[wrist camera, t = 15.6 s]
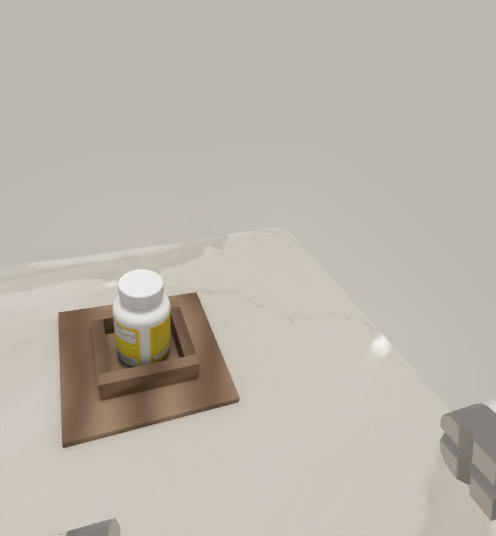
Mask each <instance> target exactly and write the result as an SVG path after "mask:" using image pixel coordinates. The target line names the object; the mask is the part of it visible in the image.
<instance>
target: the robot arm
mask: <svg viewBox="0 0 496 536" xmlns="http://www.w3.org/2000/svg"><path fill="white" fill-rule="evenodd" d="M440 427H441V428H442V429H443V430H444V431H445V433H444V435H443V436H442V438H441V439H440V450H441V453H442V456H443V459H444V461H445V463H446V465H447V466H448V468H449V470H450V471H451V472H452V474H453V475H454V476H455V477H456V479H458V480H460V481H462V482H464V483H466V484H468V485H469V491H470V496H471V497H472V498H473V500H474V501H475V502H476V503H477V504H478V506H479V507H480V508H481V509H482V511H483V512H484V513H485V514H486V515H487V517H488V518H489V519H490V520H491V521H492V520H495V519H496V398H495V399H492V400H489V401H486V402H482V403H480V404H475V405H471V406H468V407H465V408H462V409H459V410H456V411H453V412H450V413H447V414H444V415H443V416H442V418H441V426H440ZM54 536H120V525H119V524H118V522H117V520H116V518H114V519H110V520H106V521H103V522H99V523H95V524H92V525H88V526H85V527H81V528H78V529H74V530H71V531H67V532H64V533H61V534H57V535H54Z"/></svg>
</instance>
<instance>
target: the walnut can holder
mask: <svg viewBox="0 0 496 536" xmlns="http://www.w3.org/2000/svg"><path fill="white" fill-rule="evenodd" d="M168 298H169V301H170V309H171V312H170V313H171V315H170V353H169V356H168V359H167V360H166V361H161V362H156V363H152V364H147V365H142V366H137V367H132V368H127V369H126V368H125V367H123V366H122V364H121V363H120V362H119V360H118V356H117V350H116V341H115V331H114V321H113V310H112V307H113V305H107V306H100V307H94V308H87V309H80V310H73V311H66V312H60V313H59V345H60V378H61V411H62V444H63V447H67V446H71V445H75V444H79V443H83V442H87V441H90V440H94V439H98V438H102V437H106V436H109V435H113V434H117V433H121V432H125V431H129V430H132V429H136V428H140V427H144V426H148V425H151V424H155V423H159V422H163V421H167V420H171V419H174V418H178V417H182V416H186V415H190V414H194V413H197V412H201V411H205V410H209V409H213V408H216V407H220V406H224V405H228V404H232V403H236V402H239V396H238V393H237V391H236V388H235V386H234V383H233V381H232V378H231V376H230V374H229V371H228V369H227V366H226V364H225V361H224V359H223V356H222V354H221V352H220V349H219V347H218V344H217V342H216V339H215V337H214V334H213V332H212V330H211V327H210V325H209V322H208V320H207V317H206V315H205V312H204V310H203V308H202V305H201V303H200V300H199V298H198V295H197V293H189V294H182V295H176V296H169V297H168Z"/></svg>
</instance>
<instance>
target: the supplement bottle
mask: <svg viewBox="0 0 496 536" xmlns="http://www.w3.org/2000/svg"><path fill="white" fill-rule="evenodd" d="M118 292H119V295H118V296H117V297H116V298H115V300H114V302H113V307H112V310H113V321H114V331H115V341H116V350H117V356H118V360H119V362H120V363H121V364H122V366H123V367H125V368H126V369H127V368H132V367H137V366H142V365H147V364H152V363H156V362H161V361H166V360H167V359H168V356H169V353H170V315H171V313H170V312H171V309H170V301H169V298H168V297H167V295H166V294H165V293H164V289H163V280H162V278H161V276H160V275H159V274H157V273H155V272H153V271H150V270H142V269H141V270H133V271H130V272H128V273H126V274H124V275H123V276H122V277H121V278H120V280H119V282H118Z"/></svg>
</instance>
